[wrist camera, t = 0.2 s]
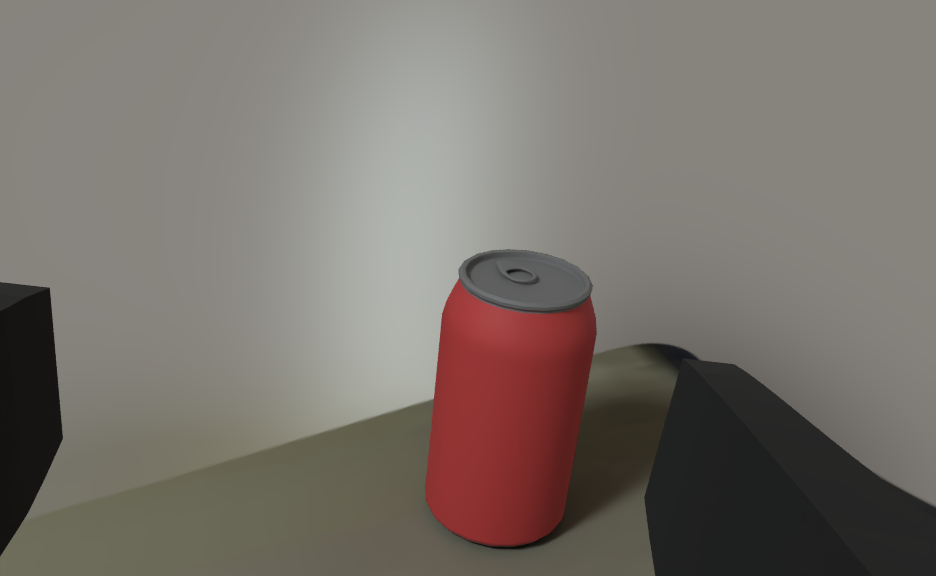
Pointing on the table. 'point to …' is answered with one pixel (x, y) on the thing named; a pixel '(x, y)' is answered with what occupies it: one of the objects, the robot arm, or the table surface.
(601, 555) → the table surface
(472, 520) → the beer can
